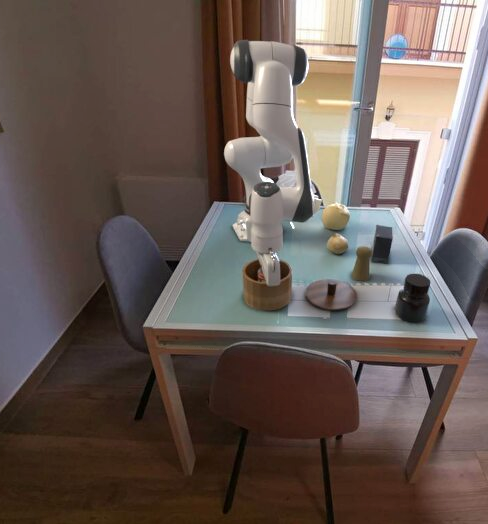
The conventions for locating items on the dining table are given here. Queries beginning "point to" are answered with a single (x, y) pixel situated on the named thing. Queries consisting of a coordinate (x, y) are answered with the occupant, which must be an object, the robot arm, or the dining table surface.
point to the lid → (331, 294)
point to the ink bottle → (413, 298)
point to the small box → (382, 244)
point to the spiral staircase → (290, 181)
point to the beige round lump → (335, 216)
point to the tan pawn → (362, 264)
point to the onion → (337, 244)
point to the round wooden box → (266, 287)
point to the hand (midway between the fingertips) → (267, 281)
